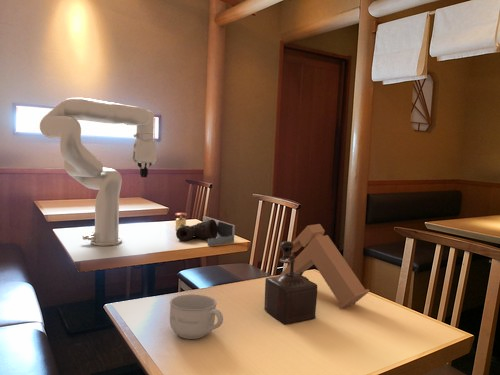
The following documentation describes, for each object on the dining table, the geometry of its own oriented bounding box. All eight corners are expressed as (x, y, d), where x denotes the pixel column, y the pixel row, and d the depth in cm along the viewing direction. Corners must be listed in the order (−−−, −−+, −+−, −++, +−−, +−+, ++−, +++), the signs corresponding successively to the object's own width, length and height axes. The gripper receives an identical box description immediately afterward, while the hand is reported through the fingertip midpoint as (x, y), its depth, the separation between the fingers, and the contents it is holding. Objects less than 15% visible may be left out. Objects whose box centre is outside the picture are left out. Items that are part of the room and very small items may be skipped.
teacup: (160, 331, 96) (161, 298, 95) (196, 319, 104) (198, 288, 103) (195, 355, 86) (197, 319, 86) (233, 339, 94) (235, 306, 93)
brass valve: (178, 232, 200) (179, 214, 200) (172, 230, 205) (173, 213, 204) (188, 231, 204) (188, 214, 203) (182, 229, 208) (183, 212, 207)
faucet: (323, 329, 129) (284, 263, 141) (369, 291, 116) (322, 222, 128) (308, 335, 125) (269, 266, 137) (355, 296, 111) (307, 224, 124)
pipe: (173, 224, 183) (204, 221, 179) (187, 220, 198) (216, 218, 194) (176, 245, 183) (207, 243, 179) (189, 240, 198) (218, 238, 194)
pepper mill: (318, 318, 108) (323, 252, 106) (284, 325, 103) (288, 256, 101) (285, 297, 122) (289, 238, 120) (253, 303, 116) (257, 241, 114)
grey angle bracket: (209, 246, 177) (209, 228, 176) (180, 234, 196) (181, 218, 195) (235, 242, 186) (235, 225, 185) (205, 231, 205) (206, 216, 204)
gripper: (132, 136, 180) (131, 178, 182) (163, 138, 189) (162, 177, 191) (126, 136, 186) (125, 176, 188) (156, 138, 195) (154, 176, 197)
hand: (143, 177), depth 189 cm, fingers closed
